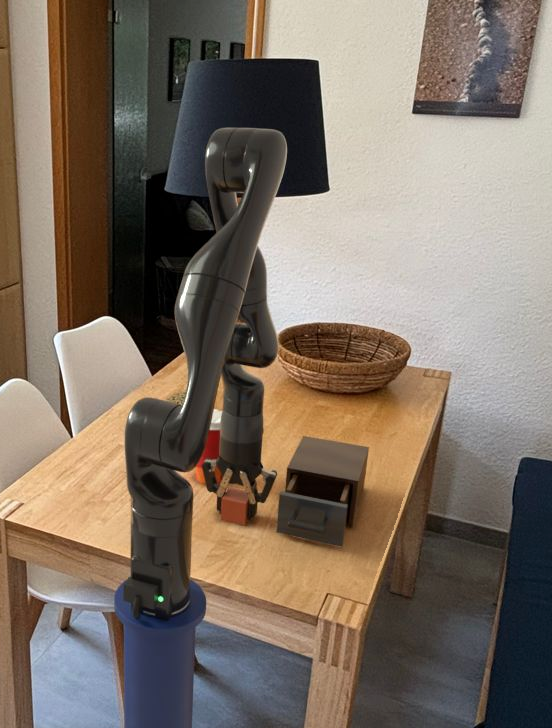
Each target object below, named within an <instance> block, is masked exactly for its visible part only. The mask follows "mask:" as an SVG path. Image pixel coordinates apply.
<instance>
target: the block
mask: <svg viewBox="0 0 552 728" xmlns="http://www.w3.org/2000/svg"><path fill="white" fill-rule="evenodd" d="M248 503H249V499H248V496H247V493H246V492H245V489H239V488H235V487H229V486H228V487H227V490H226V493H225V494H224V496H223V498H222V505H221V514H220V521H223V522H228V523H233V524H237V525H242V526H246V524H247V522H248V520H247V510H248Z"/></svg>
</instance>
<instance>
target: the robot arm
mask: <svg viewBox="0 0 552 728" xmlns="http://www.w3.org/2000/svg"><path fill="white" fill-rule="evenodd" d="M204 154H205V155H204V171H205V179H206V186H207V192H208V197H209V203H210V207H211V211H212V217H213V223H214V225H215V231H216V233H215V234H214V235H213V236H212V237H211V238H210V239H209V240H208V241H207V242H205V244H203V246H202V247H201V248H200V249H199V250H197V252H196V253H195V254H194V255H193V256H192V258H191V259H190V260H189V262H188V263H187V265H186V267H185V270H184V273H183V276H182V280H181V283H180V285H179V289H178V293H177V296H176V300H175V303H174V320H175V324H176V328H177V332H178V335H179V339H180V343H181V345H182V348H183V349H182V350H183V352H184V356H185V360H186V367H187V381H186V388H185V390H186V394H185V399H184V402H183V405H181V404H177V403H173V402H169V401H165V400H164V399H159V398H155V397H148V396H147V397H142V398H140V399H138V400H137V401H136V402H135V403H134V404H133V405H132V407H131V408H130V410H129V413H128V415H127V418H126V421H125V427H124V439H123V441H124V442H123V443H124V459H125V475H126V488H127V492H128V495H129V497H130V576H128V578H127V579H125V580H126V582H125V583H124V584H123V599H124V601H125V602H129V603H131V611H132V613H133V616H134V618H135V619H136V620H139V619H140V617H141V616H140V614H143V615H146V616H150V617H154V618H157V619H161V620H164V621H169V620H170V618H171V617H173V616H176V615H179V614H181V613H182V612H184V611H185V610H186V609H187V608H188V606H189V604H190V598H191V595H190V579H191V577H192V576H191V573H192V570H191V569H192V545H193V544H192V542H193V541H192V540H193V518H194V517H193V516H194V515H193V513H194V489H193V486H192V484H191V482H189V480H187V479H186V478H185V476H183V475H181V474H180V473H184V474H185V473H190V472H191V471H193V470H195V467H196V466H197V464H198V463H199V461H200V459H201V457H202V454H203V452H204V449H205V446H206V442H207V439H208V435H209V430H210V426H211V421H212V416H213V411H214V409H215V406H216V400H217V396H218V395H217V394H218V391H219V385H220V382H221V381H222V389H223V390H222V393H223V394H222V408H221V411H222V415H221V421H220V442H219V457H218V459H216V460H211V458H206V459H205V461H204V462H203V464H202V470H203V474H204V478H205V482H206V485H205V486H206V489H207V491H208V493H213V494H215V496H216V510H217V512H218V513H219V514H218V515H221V505H222V498H223V496H224V494H225V493H226V491H227V490H228V488H229V485H238V486H240V487H243V488H244V489H243V490H245V492H246V493H247V496H248V499H249V503H248V510H247V521H249V522H251V521H252V520H253V519H255V517H256V515H257V513H258V503H261V504H265V503H266V502H267V500H268V498H269V496H270V493H271V492H272V488H273V486H274V484H275V482H276V479H277V477H278V472H277V470H275V469H272V470H269V469H266V468H265V467H264V465H263V463H262V449H263V435H264V431H265V430H264V429H265V428H264V399H265V383H264V381H263V380H262V378H260V377H258V376H257V375H255V374H253V373H251V372H248V371H247V370H245V368H243V366H245V367H251V368H257V369H265V368H268V367H270V366H271V365H273V363H274V362H275V361H276V359H277V357H278V354H279V346H280V344H279V337H278V333H277V329H276V326H275V324H274V321H273V317H272V315H271V314H272V313H271V311H270V307H269V303H268V268H267V263H266V260H265V257H264V255H263V252H262V251H261V248H260V246H259V242H260V240H261V236H262V233H263V231H264V227H265V226H266V222H267V219H268V217H269V214H270V212H271V209H272V207H273V205H274V202H275V198H276V196H277V194H278V191H279V188H280V185H281V182H282V179H283V176H284V173H285V168H286V163H287V155H288V144H287V140H286V138H285V135H284V134H283V132H281V131H279V130H276V129H273V128H257V127H220V128H218V129H216V130H215V131H214V132H213V133H211V135H210V137H209V139H208V142H207V144H206V149H205V153H204ZM237 193H238V194H239V193H240V194H242V196H241V197H240V201H239V203H238V199H237ZM238 321H241V322H238ZM216 466H217V468H218V469H219V471H220V472H221V474H222V475H223V479H222V482H221V483H219V484H217V480H216V476H215V472H214V470H215V469H216ZM179 472H180V473H179ZM260 475H261V476H262V481H263V483H264V486H263V488H262V491H261V492H259V491H258V487H257V486H258V484H257V479H258V477H260Z"/></svg>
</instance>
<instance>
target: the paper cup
mask: <svg viewBox="0 0 552 728" xmlns="http://www.w3.org/2000/svg"><path fill="white" fill-rule="evenodd" d="M221 415H222V410H220V409H215V408H214V411H213V416H212V421H211V426H210V430H209V435H208V439H207V442H206V446H205V449H204V452H203V454H202V457H201V459H200V461H199V463H198V464H197V466H196V467H195V468H194V470H195V479H196V481H197V482H198V483H200V484H202V485H205V486H206V482H205V478H204V474H203V470H202V464H203V462H204V461H205V459H206V458H211V460H216V459H218V457H219V442H220V421H221ZM214 472H215V476H216V480H217V484H219V485H220V484H221V482H222V479H223V475H222V474H221V472H220V471H219V469H218V468H217V466H216V469H215V470H214Z"/></svg>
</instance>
